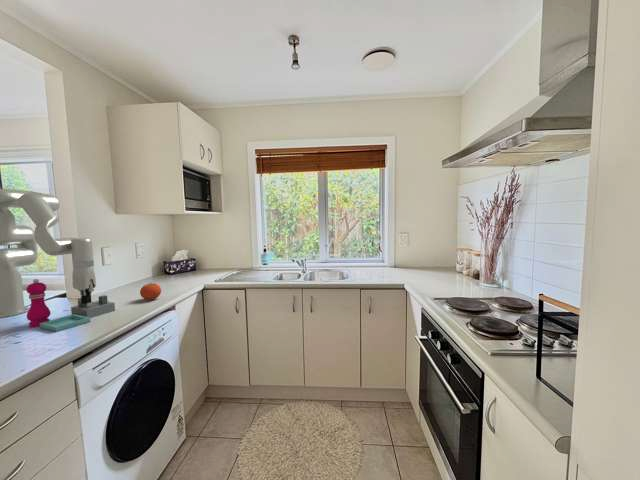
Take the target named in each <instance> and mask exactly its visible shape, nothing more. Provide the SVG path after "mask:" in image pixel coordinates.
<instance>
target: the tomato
mask: <svg viewBox="0 0 640 480" xmlns="http://www.w3.org/2000/svg"><path fill="white" fill-rule="evenodd" d="M139 294H140V297H141V298H143V299H144V300H148V301H150V300H151V301H152V300H155V299H158V297H159V296H160V295H161V294H162V287H161V286H160V285H159V284H157V283H155V282H154V283H152V282H151V281H150V282H149V283H148V282H147V283H146V284H144V285H143V286H141V288H140V291H139Z"/></svg>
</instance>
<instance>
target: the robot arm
mask: <svg viewBox="0 0 640 480" xmlns="http://www.w3.org/2000/svg"><path fill="white" fill-rule="evenodd" d="M60 205H61V204H60V200H59V199H58V198H57V197H56V196H54V195H52V194H48V193H42V192H36V191H33V190H32V191H31V190H21V189H20V190H19V189H12V188H0V247H2V246H5V247H6V246H16V247H8V248H7V247H6V248H0V318H6V317H12V316H17V315H21V314H23V313H24V314H25V313H26V312H27V313H28V311H29V309H30V307H27V306H25V300H24V299H25V298H24V289H23V288H24V287H23V278H22V274H21V273H20V272H19V270H18V269H17V267H26V266H30V265H33V264H34V263H36V261H37V259H38V246H39V248H40V249H41V250H42V251H43V252H44V253H45V254H46V255H49V256H52V257H54V256H55V257H57V256H63V255H71V261H72V274H71V275H72V281H71V282H72V288H73V289H74V290H77V291H79V294H80V298H81V301H82V304H87V303H91V302H92V293H93V292H94V291H95V288H96V287H97V286H96V285H97V282H96V273H95V269H94V268H95V263H94V262H95V261H94V253H93V252H94V251H93V250H94V249H93V242H92V239H91V238H88V237H82V238H81V237H80V238H78V237H64V238H60V237H59V238H54V237H53V236H52V234H51V233H50V232H49V228H52V227H54V226H56V225H57V224H58V222H59V221H60V218H59V216H58V215H57V214H56V211H58V210H59V208H60ZM9 208H17V209H22V210H23V211H24V212H25V213H26V215H27V216H28V217H29V219H31V221H32V222H33V223H34V225H35V228H34V229H33V228H32V227H30V226H28V225H18V224H17V225H16V217H15V215H14V213H13V212H12V211H11V210H10V209H9Z"/></svg>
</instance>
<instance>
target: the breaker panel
mask: <svg viewBox="0 0 640 480" xmlns="http://www.w3.org/2000/svg"><path fill="white" fill-rule="evenodd" d="M70 310H71V313H70V314H71V315H73V314H75V315H80V316H85V317H90V319H91V318H94V317H98V316H102V315H105V314H108V313H111V312H115V311H116V305H115V302H112V301H108V303H105V304H99V299H98V300H94V301H91V303H87V305H86V306H83V307H80V306H78V305H75V306H71V308H70Z"/></svg>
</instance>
